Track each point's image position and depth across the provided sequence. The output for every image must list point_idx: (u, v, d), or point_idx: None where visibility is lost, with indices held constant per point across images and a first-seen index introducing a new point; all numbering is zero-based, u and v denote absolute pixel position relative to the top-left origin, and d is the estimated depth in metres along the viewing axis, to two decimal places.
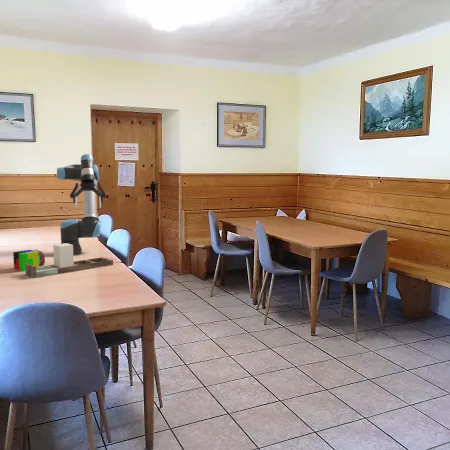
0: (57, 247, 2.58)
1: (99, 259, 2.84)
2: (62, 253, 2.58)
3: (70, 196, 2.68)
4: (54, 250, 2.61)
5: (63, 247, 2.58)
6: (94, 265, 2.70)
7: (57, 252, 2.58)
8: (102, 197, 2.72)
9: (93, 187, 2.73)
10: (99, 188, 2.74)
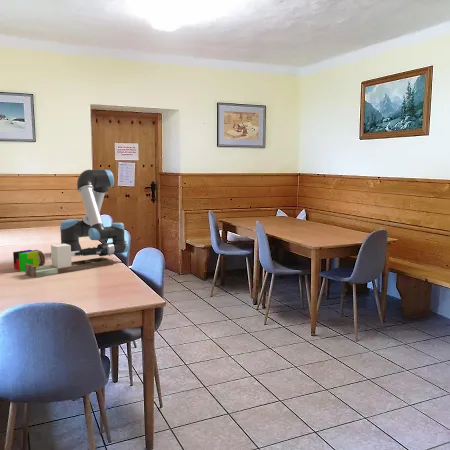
0: (54, 248, 2.57)
1: (99, 259, 2.84)
2: (60, 253, 2.57)
3: (83, 254, 2.67)
4: (52, 250, 2.60)
5: (61, 247, 2.57)
6: (94, 265, 2.70)
7: (55, 252, 2.57)
8: None
9: None
10: None
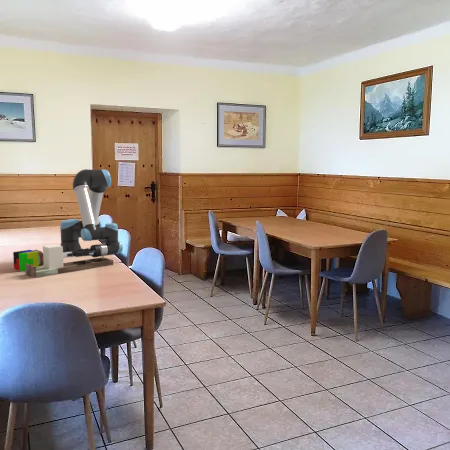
0: (46, 249, 2.54)
1: (99, 259, 2.84)
2: (52, 254, 2.53)
3: (75, 255, 2.63)
4: (44, 251, 2.57)
5: (52, 248, 2.53)
6: (94, 265, 2.70)
7: (46, 253, 2.54)
8: None
9: None
10: None
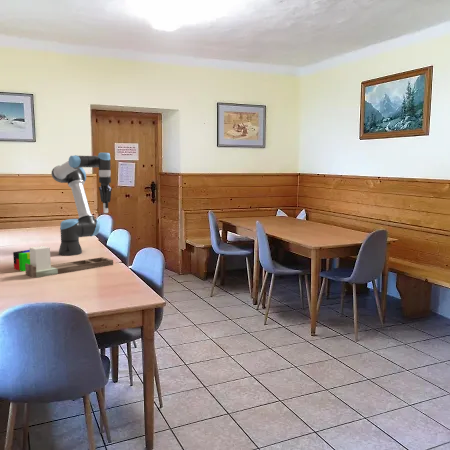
0: (33, 250, 2.49)
1: (99, 259, 2.84)
2: (39, 256, 2.48)
3: (108, 202, 2.96)
4: (30, 253, 2.52)
5: (39, 250, 2.48)
6: (94, 265, 2.70)
7: (33, 255, 2.49)
8: None
9: None
10: None
